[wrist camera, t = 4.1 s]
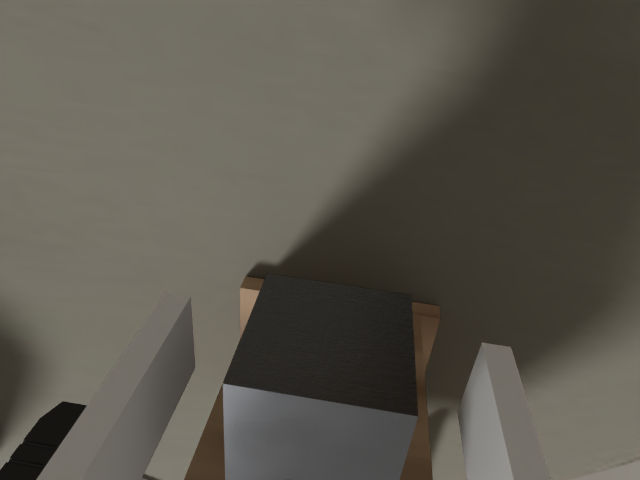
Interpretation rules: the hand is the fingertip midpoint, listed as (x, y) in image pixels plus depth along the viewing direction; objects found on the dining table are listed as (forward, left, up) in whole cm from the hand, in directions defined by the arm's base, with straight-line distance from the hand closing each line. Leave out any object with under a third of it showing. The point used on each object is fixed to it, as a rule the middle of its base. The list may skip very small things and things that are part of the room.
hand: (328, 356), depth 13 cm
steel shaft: (+8, 0, -1) cm, 8 cm away
